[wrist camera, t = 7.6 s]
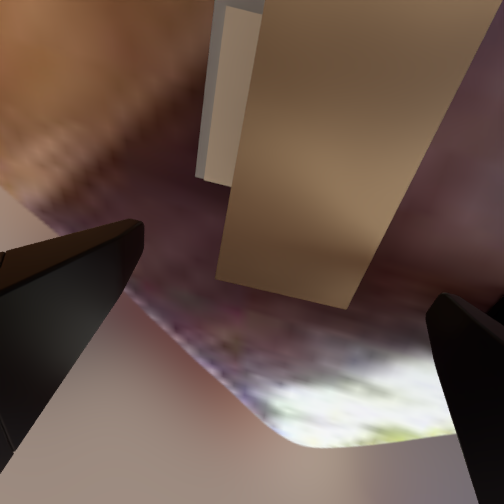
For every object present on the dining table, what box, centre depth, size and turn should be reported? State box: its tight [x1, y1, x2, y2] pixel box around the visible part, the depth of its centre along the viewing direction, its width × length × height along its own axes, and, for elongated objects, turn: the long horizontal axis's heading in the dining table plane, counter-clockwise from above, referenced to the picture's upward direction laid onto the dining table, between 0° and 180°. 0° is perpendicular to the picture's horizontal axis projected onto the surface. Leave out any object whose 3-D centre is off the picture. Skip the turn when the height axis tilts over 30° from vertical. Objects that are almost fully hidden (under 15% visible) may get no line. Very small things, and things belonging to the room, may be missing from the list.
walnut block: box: [215, 0, 502, 310], centre depth 10 cm, size 14×5×6 cm, turn 168°
